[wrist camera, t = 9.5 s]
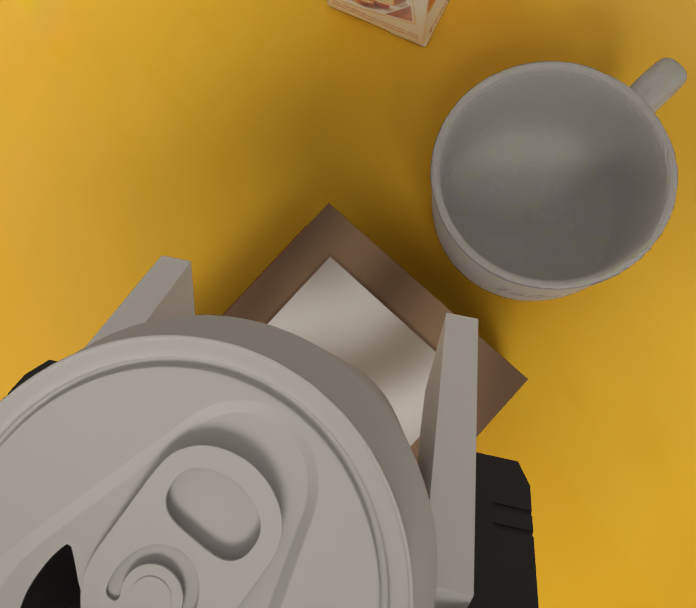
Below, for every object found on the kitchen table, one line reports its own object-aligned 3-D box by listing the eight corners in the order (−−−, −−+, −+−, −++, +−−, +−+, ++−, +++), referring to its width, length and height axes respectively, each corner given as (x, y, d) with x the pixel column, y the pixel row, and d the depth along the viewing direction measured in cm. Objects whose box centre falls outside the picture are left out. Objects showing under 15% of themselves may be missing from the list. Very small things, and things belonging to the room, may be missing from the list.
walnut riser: (505, 378, 32) (529, 379, 27) (349, 553, 32) (342, 589, 26) (333, 225, 34) (323, 197, 29) (181, 387, 33) (143, 389, 28)
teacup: (482, 344, 33) (514, 333, 25) (387, 185, 34) (388, 128, 26) (694, 223, 33) (793, 174, 25) (589, 70, 34) (651, -22, 26)
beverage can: (162, 472, 18) (-251, 651, 6) (285, 311, 19) (115, 193, 7) (321, 604, 17) (191, 1091, 6) (446, 432, 18) (573, 540, 6)
